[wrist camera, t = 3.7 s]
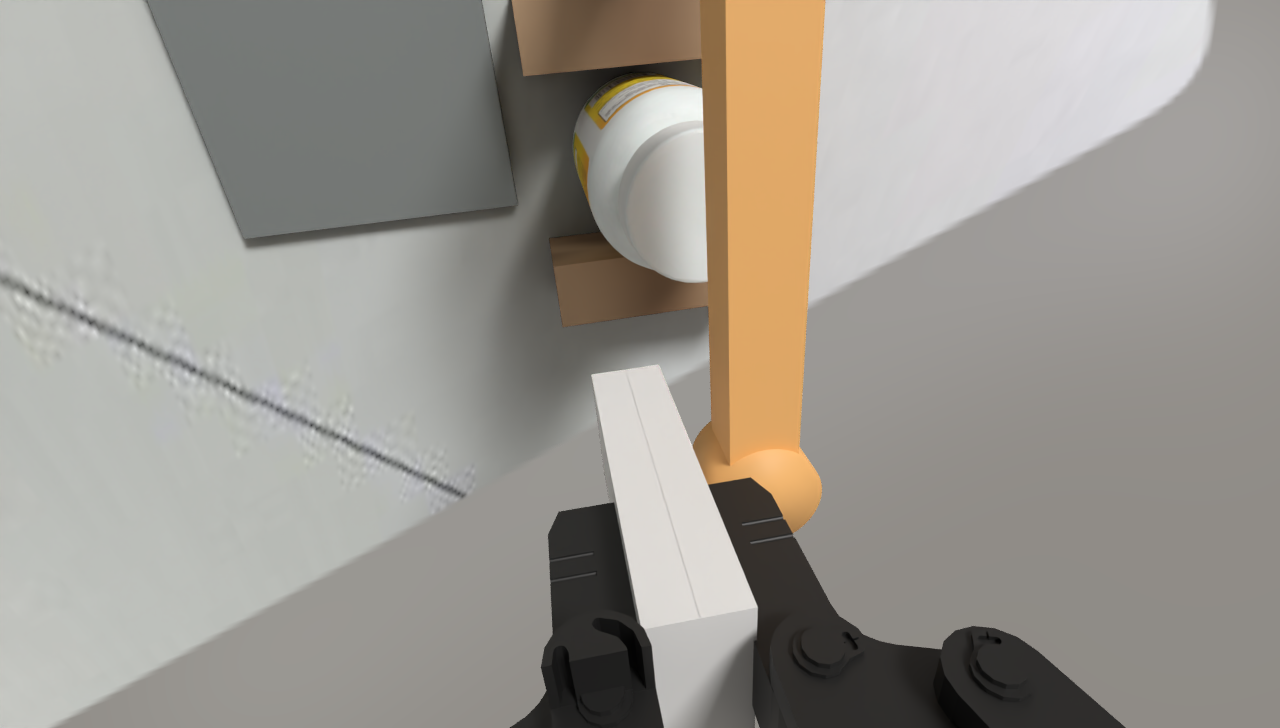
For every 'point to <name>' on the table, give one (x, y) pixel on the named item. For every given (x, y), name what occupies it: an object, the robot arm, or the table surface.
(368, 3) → the mat
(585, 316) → the wooden block set
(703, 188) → the supplement bottle
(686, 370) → the table surface
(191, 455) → the table surface
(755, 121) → the grey orange l-shaped piece
